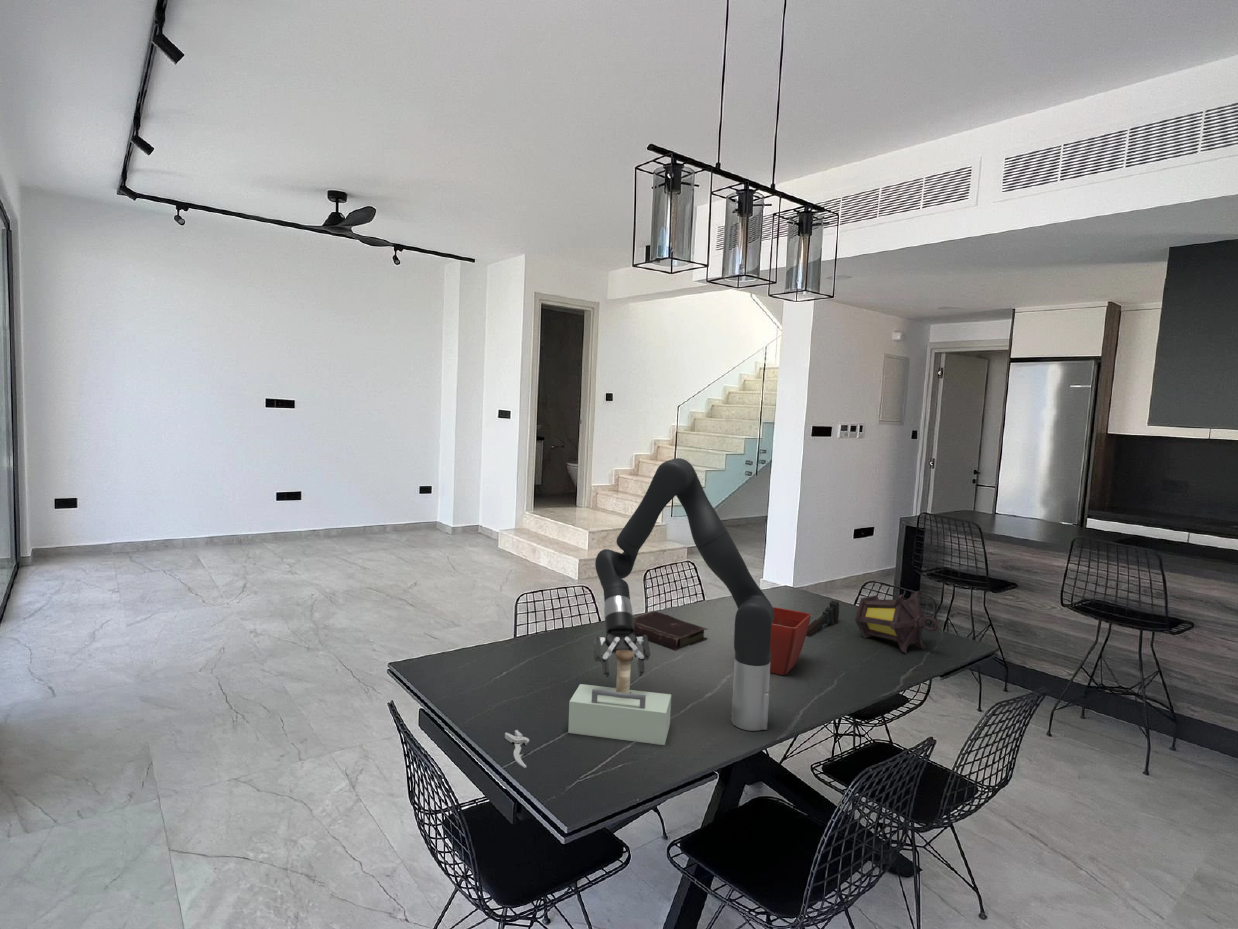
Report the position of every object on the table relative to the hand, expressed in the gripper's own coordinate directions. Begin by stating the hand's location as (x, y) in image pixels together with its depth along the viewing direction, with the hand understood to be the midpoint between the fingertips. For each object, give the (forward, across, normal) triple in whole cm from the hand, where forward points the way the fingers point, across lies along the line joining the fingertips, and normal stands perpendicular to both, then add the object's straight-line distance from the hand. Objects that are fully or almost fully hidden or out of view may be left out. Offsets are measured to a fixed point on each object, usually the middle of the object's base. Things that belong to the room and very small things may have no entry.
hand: (624, 675), depth 174 cm
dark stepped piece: (-43, +90, +64) cm, 118 cm away
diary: (-39, +28, +61) cm, 77 cm away
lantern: (-30, +110, +51) cm, 124 cm away
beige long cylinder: (+9, 0, +10) cm, 13 cm away
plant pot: (-18, +56, +39) cm, 70 cm away
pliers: (+16, -24, +6) cm, 29 cm away
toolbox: (+11, -1, +10) cm, 14 cm away
